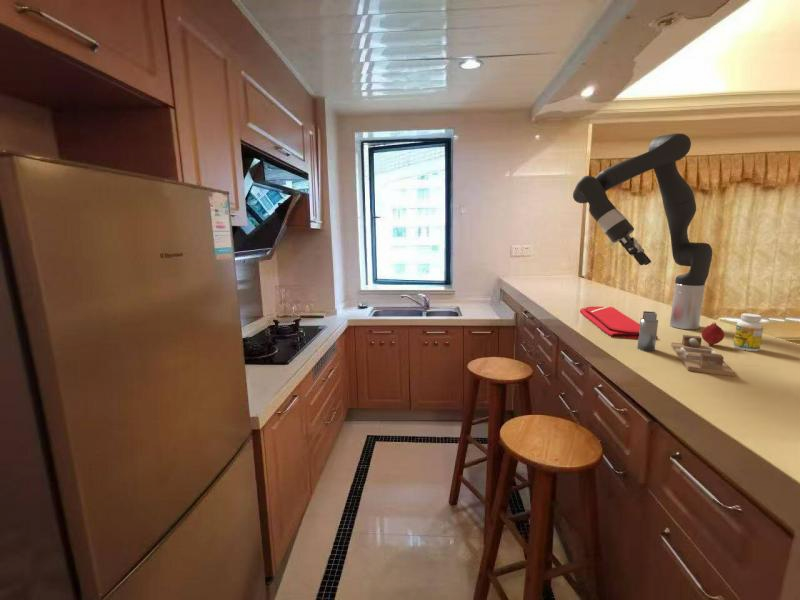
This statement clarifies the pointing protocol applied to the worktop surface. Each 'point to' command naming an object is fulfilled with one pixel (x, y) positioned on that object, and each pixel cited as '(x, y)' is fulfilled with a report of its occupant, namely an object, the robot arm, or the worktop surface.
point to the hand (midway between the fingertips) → (646, 263)
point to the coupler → (647, 331)
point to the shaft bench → (700, 357)
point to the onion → (712, 334)
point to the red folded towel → (612, 321)
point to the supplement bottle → (748, 333)
